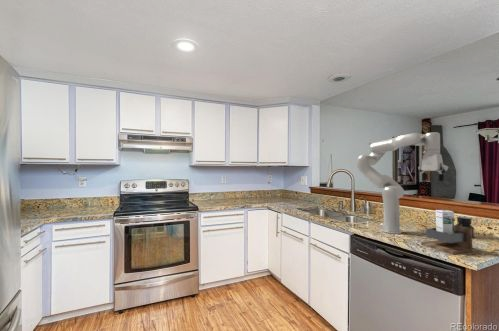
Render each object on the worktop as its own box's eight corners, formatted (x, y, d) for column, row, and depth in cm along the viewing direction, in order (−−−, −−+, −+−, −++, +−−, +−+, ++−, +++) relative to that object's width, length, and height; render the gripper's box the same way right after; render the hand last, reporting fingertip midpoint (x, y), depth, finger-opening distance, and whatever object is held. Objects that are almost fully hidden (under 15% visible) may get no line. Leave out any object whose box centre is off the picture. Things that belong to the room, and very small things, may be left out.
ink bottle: (470, 235, 154) (470, 217, 154) (477, 239, 146) (477, 219, 146) (452, 233, 158) (451, 215, 158) (457, 237, 150) (457, 218, 150)
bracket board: (421, 244, 134) (421, 223, 134) (440, 242, 138) (439, 222, 139) (452, 254, 119) (452, 230, 119) (472, 251, 123) (472, 228, 123)
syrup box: (442, 238, 126) (442, 211, 127) (435, 235, 132) (435, 209, 133) (454, 238, 126) (454, 211, 126) (447, 235, 131) (446, 209, 132)
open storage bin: (426, 236, 133) (426, 228, 133) (441, 234, 136) (441, 227, 136) (450, 243, 121) (450, 234, 121) (466, 241, 125) (466, 232, 125)
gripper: (414, 153, 152) (414, 179, 151) (443, 151, 135) (443, 181, 135) (422, 153, 154) (422, 179, 154) (452, 151, 137) (452, 181, 137)
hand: (432, 180), depth 144 cm, fingers open, 9 cm apart
